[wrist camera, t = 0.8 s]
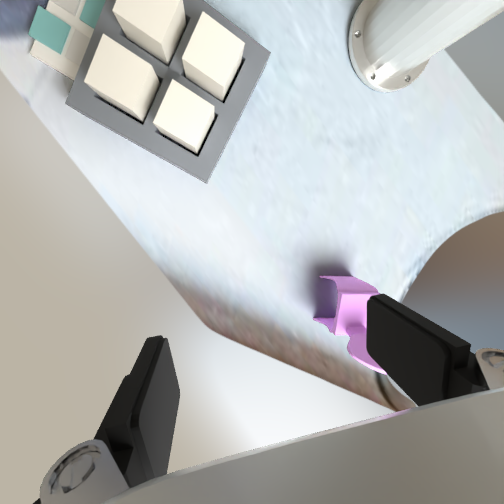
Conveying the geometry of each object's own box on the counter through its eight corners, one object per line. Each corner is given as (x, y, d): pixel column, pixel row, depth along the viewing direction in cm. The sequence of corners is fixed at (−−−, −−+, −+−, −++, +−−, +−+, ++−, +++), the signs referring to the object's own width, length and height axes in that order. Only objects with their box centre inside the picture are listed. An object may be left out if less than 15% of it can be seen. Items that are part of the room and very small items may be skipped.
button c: (145, -6, 25) (133, -42, 21) (186, 24, 26) (182, -5, 22) (127, 38, 26) (112, 10, 22) (168, 65, 27) (161, 43, 23)
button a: (204, 37, 27) (202, 11, 23) (240, 63, 28) (244, 42, 24) (186, 77, 27) (181, 58, 24) (222, 101, 29) (223, 86, 25)
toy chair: (358, 273, 41) (438, 315, 26) (349, 319, 42) (420, 382, 28) (314, 272, 39) (373, 316, 25) (307, 319, 41) (358, 386, 27)
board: (74, -74, 25) (53, -115, 22) (264, 68, 31) (270, 52, 28) (19, 79, 27) (-8, 62, 24) (207, 183, 33) (206, 182, 30)
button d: (119, 57, 26) (103, 33, 22) (160, 83, 27) (151, 65, 23) (102, 98, 27) (83, 81, 23) (143, 122, 28) (132, 110, 24)
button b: (178, 95, 28) (172, 78, 24) (214, 118, 29) (214, 106, 25) (161, 132, 28) (152, 122, 25) (197, 153, 30) (194, 147, 26)
